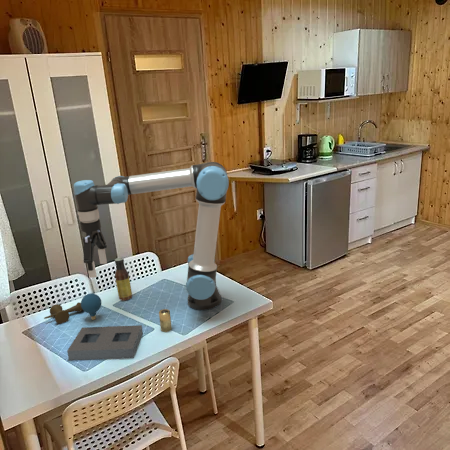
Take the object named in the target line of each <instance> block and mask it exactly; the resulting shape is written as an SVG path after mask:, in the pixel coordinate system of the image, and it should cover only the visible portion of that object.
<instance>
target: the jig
mask: <svg viewBox="0 0 450 450" xmlns="http://www.w3.org/2000/svg"><path fill="white" fill-rule="evenodd" d="M142 337H143V326H142V324H141V325H140V324H139V325H116V326H113V325H112V326H88V327H81V328H80V330H79V331H78V333H77V334H76V336H75V338H74V340H72V342H71V344H70V346H69V347H68V348H67V351H66V352H67V359H68V361H89V360H90V361H91V360H92V361H93V360H111V359H112V360H114V359H115V360H118V359H119V360H121V359H134V358H135V355H136V353H137V351H138V348H139V346H140V343H141V340H142Z"/></svg>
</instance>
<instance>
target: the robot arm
mask: <svg viewBox="0 0 450 450" xmlns="http://www.w3.org/2000/svg"><path fill="white" fill-rule="evenodd" d="M229 181H230V180H229V176H228V171H227V170H226V168H225V167H224V166H223V165H222V164H221V163H219V162H216V161H209V162H208V161H207V162H204V163H198V164H193V165H192V164H191V166H190V167H188V168H181V169H174V170H166V171H159V172H151V173H143V174H142V173H141V174H136V175H129V176H123V175H117V176H115V177H113V178H112V179H111V181H109V182H108V183H107V184H100V185H99V184H95V183H94V180H91V179H83V180H78V181H76V182H75V183H73V191H74V198H75V199H74V200H75V202H76V209H77V215H78V219H79V221H80V223H79V226H80V229H81V232H83V233H85V235H86V236H84V237H82V242H83V264H86V266H87V268H86V269H87V272H88V277H89V278H90V279H93V278H97V270H96V265H95V264H96V263H95V261H94V253H95V252H94V251H95V247H96V246H97V254H98V257H99V259H98V260H99V264H100V265H107V264H108V260H107V255H106V249H107V247H108V246H107V242H106V239H105V238H104V235H103V233H102V229H101V228H102V225H101V220H100V212H99V206H101V205H113V204H114V205H119V204H124V203H127V202H128V197H129V196H131V195H136V194H144V193H151V192H159V191H167V190H174V189H181V188H191V187H193V188H194V189H196V192H195V200H196V202H197V203H198V211H197V217H196V227H195V228H196V229H195V235H194V236H195V238H194V246H193V248H194V249H193V253H192V254H190V255H189V256H187V265H188V266H187V267H188V268H187V277H186V283H185V289H186V293H187V294H188V295H187V305H188V307H190V308H191V309H193V310H196V311H197V310H198V311H207V310H212V309H214V308H216V307H218V306H220V305H221V303H222V296H221V293H220V290H219V289H218V288H219V287H218V286H217V278H216V277H217V271H218V265H217V264H216V262H215V261H216V259H215V257H216V256H215V255H216V248H217V241H218V233H219V224H220V216H221V209H222V206H223V205H225V203H226V202H227V201H226V200H227V193H228V189H229V185H230V184H229V183H230V182H229Z"/></svg>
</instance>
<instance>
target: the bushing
mask: <svg viewBox="0 0 450 450" xmlns="http://www.w3.org/2000/svg"><path fill="white" fill-rule="evenodd" d="M158 318H159V323H160V324H159V325H160V331H161V332H162V333H169V332H171V331H172V329H173V328H172V327H173V326H172V319H171V318H172V317H171V310H170V309H167V308H162V309H161V310H159V312H158Z"/></svg>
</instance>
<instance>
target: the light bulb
mask: <svg viewBox="0 0 450 450" xmlns="http://www.w3.org/2000/svg"><path fill="white" fill-rule="evenodd" d="M80 303H81V308H82V309H83V311H84V313H86V314H89V316H90V318H91V320H92V321H94V320H96V318H97V316H96V315H97V312H98V311H99V310H100V309H101V307H102V300H101V297H100V296H99V295H97V294H95V293H93V292H92V293H91V292H90V293H87V294H85V295H84V296H83V297H82V299H81V301H80ZM83 311H82V312H83Z"/></svg>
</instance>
